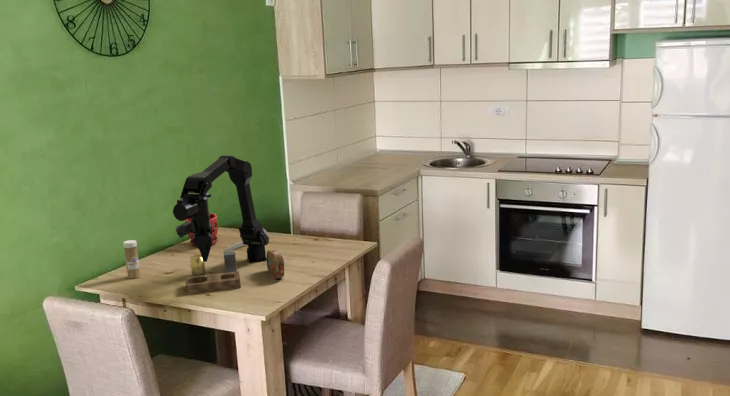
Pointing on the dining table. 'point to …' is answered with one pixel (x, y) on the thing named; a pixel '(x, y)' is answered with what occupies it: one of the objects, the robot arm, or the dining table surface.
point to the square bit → (230, 261)
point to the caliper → (239, 244)
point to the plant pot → (214, 230)
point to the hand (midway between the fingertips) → (205, 257)
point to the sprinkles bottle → (131, 258)
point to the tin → (275, 264)
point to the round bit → (197, 265)
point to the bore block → (212, 282)
